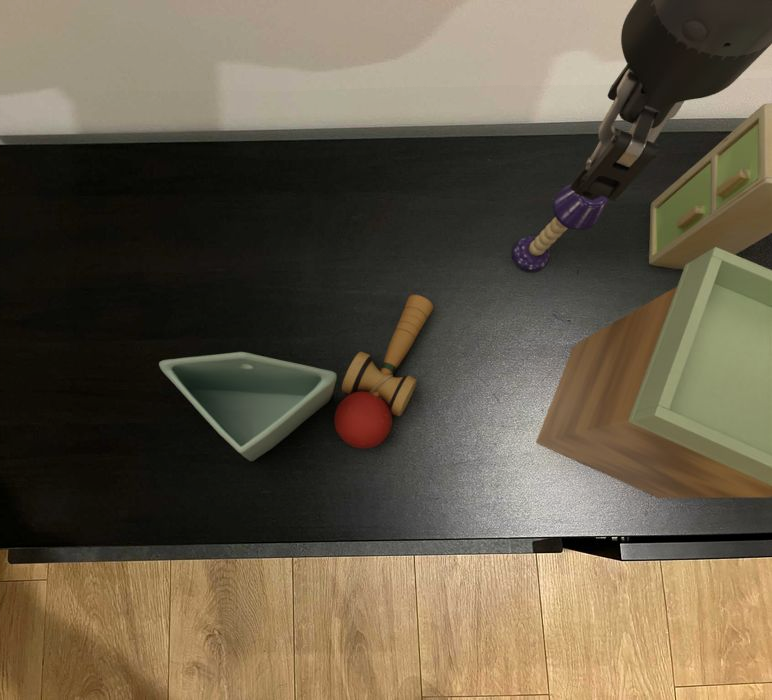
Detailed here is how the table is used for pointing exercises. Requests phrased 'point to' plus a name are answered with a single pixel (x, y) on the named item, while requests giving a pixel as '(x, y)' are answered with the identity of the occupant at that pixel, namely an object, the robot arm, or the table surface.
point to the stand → (612, 411)
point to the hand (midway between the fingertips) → (602, 144)
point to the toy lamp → (558, 228)
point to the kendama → (380, 384)
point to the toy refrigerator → (718, 198)
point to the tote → (715, 365)
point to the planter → (251, 396)
